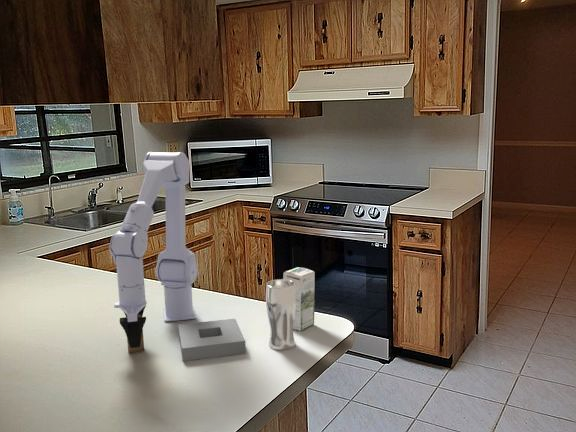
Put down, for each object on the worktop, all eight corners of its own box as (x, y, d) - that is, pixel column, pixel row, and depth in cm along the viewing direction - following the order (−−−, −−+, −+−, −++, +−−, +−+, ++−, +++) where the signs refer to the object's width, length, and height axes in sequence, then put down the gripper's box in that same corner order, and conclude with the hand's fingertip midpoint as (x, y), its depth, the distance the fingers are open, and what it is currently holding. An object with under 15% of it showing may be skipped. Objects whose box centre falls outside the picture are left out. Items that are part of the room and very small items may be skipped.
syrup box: (297, 319, 143) (296, 266, 140) (315, 324, 139) (314, 270, 136) (283, 326, 139) (282, 271, 136) (301, 332, 135) (300, 275, 132)
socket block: (178, 336, 134) (178, 324, 133) (235, 329, 137) (235, 318, 136) (182, 361, 120) (181, 348, 120) (245, 353, 124) (245, 340, 123)
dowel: (128, 347, 128) (125, 315, 126) (144, 345, 128) (141, 313, 127) (127, 354, 124) (125, 321, 123) (144, 352, 125) (141, 319, 124)
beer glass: (271, 353, 123) (269, 289, 121) (264, 340, 130) (262, 280, 127) (300, 349, 125) (299, 286, 122) (292, 337, 132) (291, 277, 129)
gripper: (114, 275, 129) (118, 330, 132) (110, 295, 115) (115, 355, 118) (145, 273, 131) (148, 326, 133) (145, 292, 117) (149, 351, 120)
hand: (135, 340), depth 126 cm, fingers open, 7 cm apart
